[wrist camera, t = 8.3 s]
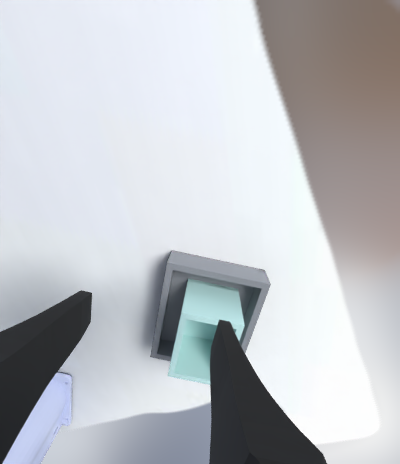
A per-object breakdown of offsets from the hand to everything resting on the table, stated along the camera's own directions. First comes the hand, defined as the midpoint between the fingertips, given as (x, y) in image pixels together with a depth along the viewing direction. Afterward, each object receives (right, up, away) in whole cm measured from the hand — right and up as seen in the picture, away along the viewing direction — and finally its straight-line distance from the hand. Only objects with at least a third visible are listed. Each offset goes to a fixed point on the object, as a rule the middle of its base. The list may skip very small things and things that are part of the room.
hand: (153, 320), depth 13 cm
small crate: (+3, -3, +11) cm, 12 cm away
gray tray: (+3, -3, +11) cm, 12 cm away
